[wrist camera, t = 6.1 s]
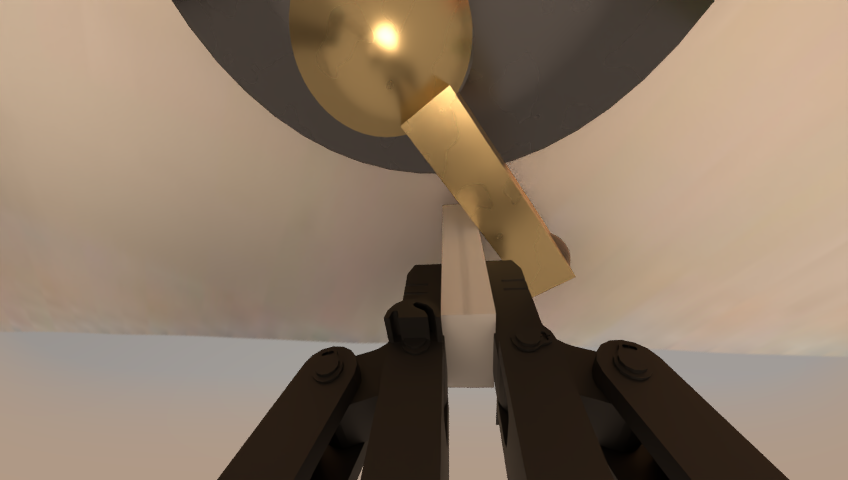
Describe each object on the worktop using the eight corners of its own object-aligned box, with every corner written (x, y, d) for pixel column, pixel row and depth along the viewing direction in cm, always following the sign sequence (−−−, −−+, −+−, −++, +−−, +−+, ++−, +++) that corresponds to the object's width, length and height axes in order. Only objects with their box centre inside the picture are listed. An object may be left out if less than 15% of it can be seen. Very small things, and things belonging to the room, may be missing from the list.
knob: (310, 35, 12) (247, 23, 8) (410, -78, 10) (386, -157, 6) (498, 274, 17) (510, 332, 13) (588, 226, 15) (632, 278, 11)
